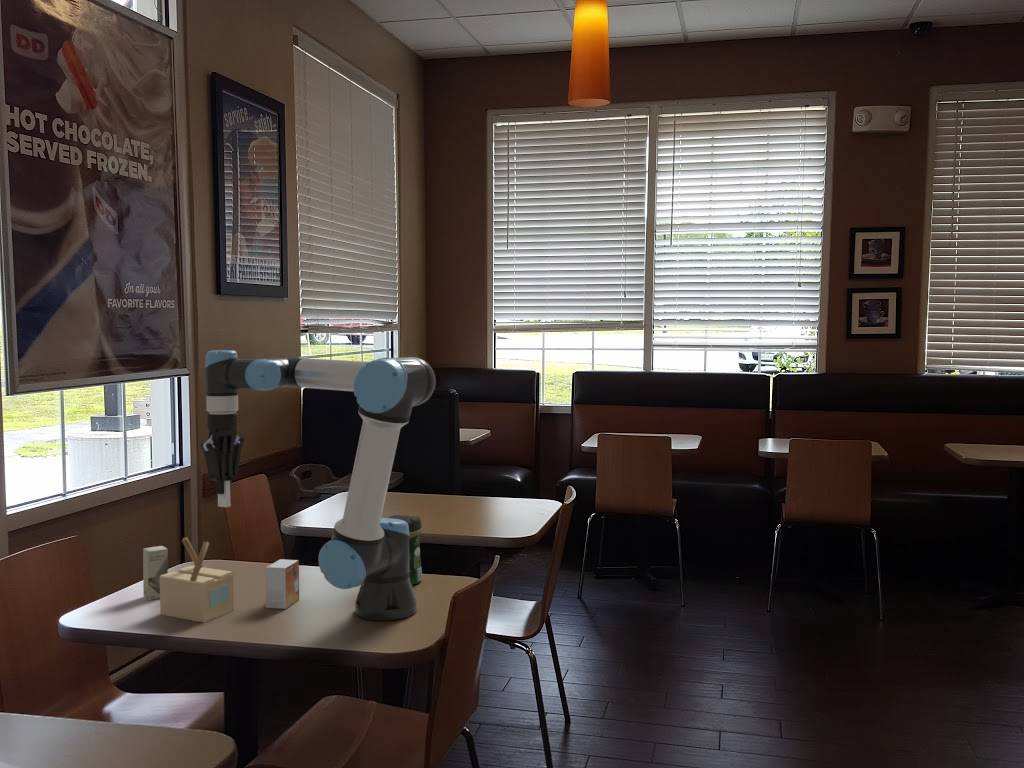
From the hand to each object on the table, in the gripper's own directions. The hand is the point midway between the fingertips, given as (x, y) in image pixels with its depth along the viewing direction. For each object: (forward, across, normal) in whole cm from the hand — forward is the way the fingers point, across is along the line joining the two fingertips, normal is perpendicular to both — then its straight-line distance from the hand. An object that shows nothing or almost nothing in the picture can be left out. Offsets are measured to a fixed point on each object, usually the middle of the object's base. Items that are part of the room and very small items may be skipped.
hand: (224, 506), depth 218 cm
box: (+26, +2, -22) cm, 34 cm away
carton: (+26, +6, -3) cm, 27 cm away
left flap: (+16, +9, -3) cm, 19 cm away
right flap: (+16, +4, -3) cm, 17 cm away
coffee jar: (+26, -36, +30) cm, 54 cm away
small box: (+26, -8, +12) cm, 29 cm away
